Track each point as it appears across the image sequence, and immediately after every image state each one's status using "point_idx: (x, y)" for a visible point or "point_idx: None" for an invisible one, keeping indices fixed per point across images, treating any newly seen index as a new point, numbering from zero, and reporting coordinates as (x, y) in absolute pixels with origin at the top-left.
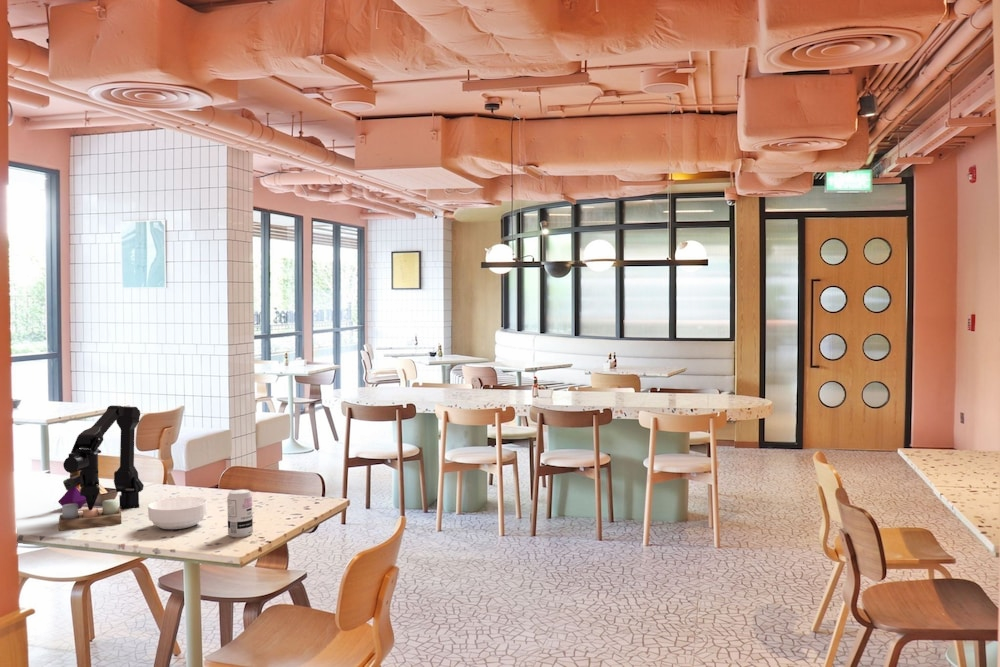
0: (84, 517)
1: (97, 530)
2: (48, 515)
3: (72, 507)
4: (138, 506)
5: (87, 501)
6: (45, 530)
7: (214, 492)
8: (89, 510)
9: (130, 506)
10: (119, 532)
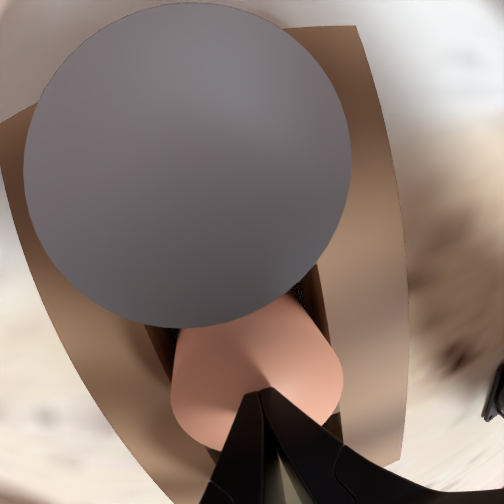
0: (143, 339)
1: (37, 403)
2: (493, 7)
3: (60, 254)
4: (485, 420)
5: (210, 494)
6: (81, 20)
7: (494, 487)
8: (223, 402)
9: (497, 397)
10: (29, 475)
